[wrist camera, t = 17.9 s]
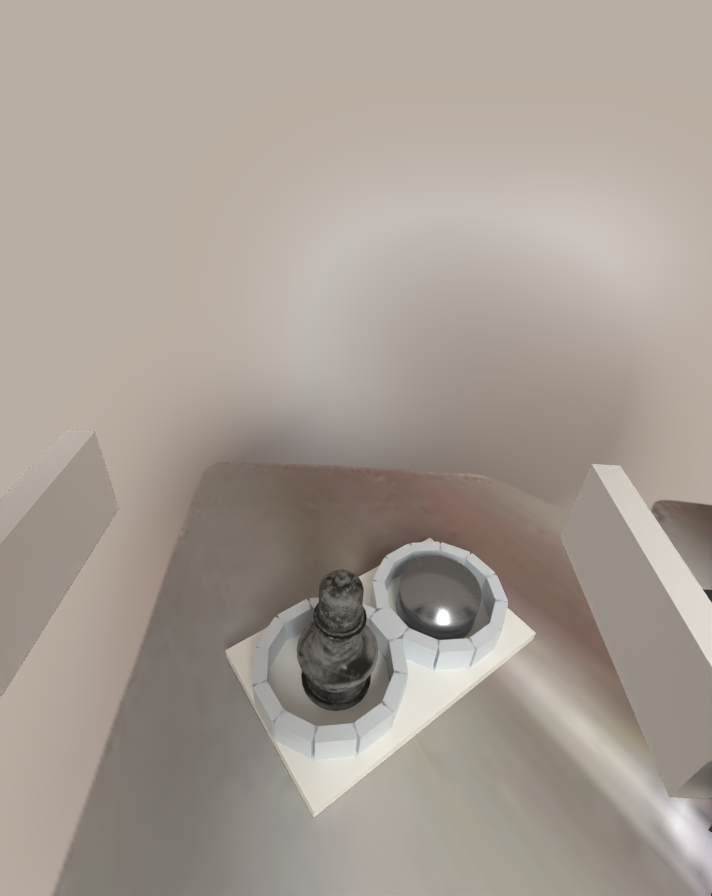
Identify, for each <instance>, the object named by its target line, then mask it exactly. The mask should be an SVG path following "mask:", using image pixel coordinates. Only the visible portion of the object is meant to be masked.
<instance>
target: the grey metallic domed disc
mask: <svg viewBox="0 0 712 896" xmlns="http://www.w3.org/2000/svg"><path fill="white" fill-rule="evenodd" d="M481 599H482V593H481V588H480V585H479V582H478V580H477V579H476V577H475V576H474V575H473V573H472V572H471V571H470V570H469V569H468V568H466V567H465V566H464V565H462V564H461V563H459V562H457V561H455V560H452V559H449V558H446V557H441V556H425V557H421V558H418V559H416V560H414V561H412V562H411V563H409V564H408V565H407V566H406V567H405V569H404V570H403V572H402V574H401V577H400V583H399V589H398V595H397V601H396V611H397V615H398V616H399V618H400V619H401V620H402V621H403V622H404V623H405V624H406V625H407V627H408V628H410V629H413V630H415V631H417V632H420V633H422V634H425V635H427V636H430V637H432V638H434V639H437V640H450V639H463V638H465V637H466V636H467V635H468V634H469V632H470V631H471V629H472V627H473V624H474V621H475V618H476V615H477V612H478V609H479V606H480V603H481Z"/></svg>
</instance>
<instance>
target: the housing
mask: <svg viewBox="0 0 712 896" xmlns="http://www.w3.org/2000/svg"><path fill="white" fill-rule="evenodd" d="M469 554H470V552H469V551H466V550H463V549H460V548H457V547H455V546H452V545H449V544H446V543H443V542H442V543H441V545H440V543H439V542H434V541H433V540H432V539H431V538H428V539H427V540H425V541H423V542H418V543H411V545H410V544H409V543H408V544H407V545H405V546H403V547H401V548H399V549H397V550H395V551H394V552H392V553H390V554H388V555H386V558H385V557H384V559H383V561H382V563H381V565H379V566H378V567H376V568H374V569H372V570H370V571H368V572H367V573H365V574H363V575H361V576H359V578H360V580H361V582H362V584H363V588H364V594H363V604H362V605H363V607H364V608H365V610H366V615H367V620H366V625H367V626H368V627H369V628H370V629H371V630H372V632H373V633H374V635H375V637H376V639H377V644H378V648H379V650H378V660H377V663H376V666H375V669H374V670H373V671H372V673H371V681H370V686H369V689H368V692H367V693H366V695H365V696H364V698H363V699H362V700H361V701H360V702H359V703H357V704H356V705H355V706H353V707H350V708H348V709H346V710H339V711H334V710H326V709H324V708H322V707H319V706H317V705H316V704H315V703H314V702H312V701H311V700H310V699H309V697H308V696H307V695H306V693H305V691H304V688H303V686H302V678H301V673H302V670H301V667H300V665H299V662H298V660H297V645H298V640H299V638H300V636H301V634H302V632H303V630H304V629H305V628H306V627H307V626H308V625H309V624H310V623H311V622H313V612H314V609H315V607H316V605H317V604H318V603H319V597H315V598H310V602H309V601H308V600H307V599H305V600H303V601H301V602H299V603H298V604H296V605H294V606H292V607H290V608H288V609H287V610H285V611H283V612H281V613H279V614H277V617H274V619H273V620H272V622H271V623H270V625H269V626H268V627H267V628H265V629H263V630H261V631H259V632H258V633H256V634H254V635H252V636H250V637H248V638H247V639H245V640H243V641H241V642H239V643H238V644H236V645H234V646H232V647H230V648H228V649H227V650H225V652H226V658H227V660H228V661H229V663H230V665H231V667H232V669H233V671H234V672H235V674H236V676H237V678H238V680H239V682H240V683H241V685H242V687H243V689H244V691H245V693H246V695H247V696H248V698H249V700H250V702H251V704H252V706H253V707H254V709H255V711H256V713H257V715H258V717H259V718H260V720H261V722H262V724H263V726H264V728H265V730H266V731H267V733H268V735H269V737H270V739H271V741H272V742H273V744H274V746H275V748H276V750H277V752H278V753H279V755H280V757H281V759H282V761H283V763H284V765H285V766H286V768H287V770H288V772H289V774H290V776H291V777H292V779H293V781H294V783H295V785H296V787H297V789H298V790H299V792H300V794H301V796H302V798H303V800H304V801H305V803H306V805H307V807H308V809H309V811H310V812H311V814H312V816H313V818H314V817H316V816H317V815H318V814H319V813H320V812H322V811H323V810H324V809H325V808H327V807H328V806H329V805H330V804H331V803H333V802H334V801H335V800H336V799H338V798H339V797H340V796H341V795H343V794H344V793H345V792H346V791H347V790H349V789H350V788H351V787H352V786H354V785H355V784H356V783H357V782H359V781H360V780H361V779H362V778H363V777H365V776H366V775H367V774H368V773H370V772H371V771H372V770H373V769H374V768H376V767H377V766H378V765H379V764H381V763H382V762H383V761H384V760H386V759H387V758H388V757H389V756H390V755H392V754H393V753H394V752H395V751H397V750H398V749H399V748H400V747H401V746H403V745H404V744H405V743H406V742H408V741H409V740H410V739H411V738H413V737H414V736H415V735H416V734H417V733H419V732H420V731H421V730H422V729H424V728H425V727H426V726H427V725H429V724H430V723H431V722H432V721H433V720H435V719H436V718H437V717H438V716H440V715H441V714H442V713H443V712H444V711H446V710H447V709H448V708H449V707H451V706H452V705H453V704H454V703H456V702H457V701H458V700H459V699H460V698H462V697H463V696H464V695H465V694H467V693H468V692H469V691H470V690H471V689H473V688H474V687H475V686H476V685H478V684H479V683H480V682H481V681H483V680H484V679H485V678H486V677H487V676H489V675H490V674H491V673H492V672H494V671H495V670H496V669H497V668H498V667H500V666H501V665H502V664H503V663H505V662H506V661H507V660H508V659H510V658H511V657H512V656H513V655H514V654H516V653H517V652H518V651H519V650H521V649H522V648H523V647H524V646H526V645H527V644H528V643H529V642H530V641H532V640H533V638H534V635H535V632H534V631H533V630H532V629H531V628H530V627H528V626H527V625H526V624H525V623H524V622H523V621H522V620H521V619H520V618H519V617H517V616H516V615H515V614H514V613H513V612H512V611H511V610H510V609H509V608H507V606H508V603H507V602H508V600H507V598H506V595H505V593H504V591H503V588H502V586H501V584H500V581H499V579H498V577H497V575H495V572H494V571H492V570H491V569H490V568H489V567H488V566H487V565H486V564H484V563H483V562H482V561H481V560H480V559H479V558H477V557H476V556H475V555H474V554H473V553H472V554H470V555H469ZM425 556H441V557H446V558H449V559H452V560H455V561H457V562H459V563H461V564H462V565H464V566H465V567H466V568H468V569H469V570H470V571H471V572H472V573H473V575H474V576H475V577H476V579H477V580H478V582H479V585H480V588H481V593H482V599H481V603H480V606H479V609H478V612H477V615H476V618H475V621H474V624H473V627H472V629H471V631H470V632H469V634H468V635H467V636H466V637H465V638H463V639H450V640H437V639H434V638H432V637H430V636H427V635H425V634H422V633H420V632H417V631H415V630H413V629H410V628H408V627H407V625H406V624H405V623H404V622H403V621H402V620H401V619H400V618H399V616H398V615H397V611H396V601H397V595H398V589H399V583H400V577H401V574H402V572H403V570H404V569H405V567H406V566H407V565H408V564H409V563H411V562H412V561H414V560H416V559H418V558H421V557H425Z"/></svg>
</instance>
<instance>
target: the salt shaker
mask: <svg viewBox="0 0 712 896" xmlns="http://www.w3.org/2000/svg"><path fill="white" fill-rule="evenodd" d="M363 594H364V588H363V584H362V582H361V580H360V578H359V577H358V576H357V575H355V574H354V573H352V572H350V571H347V570H336V571H333V572H330V573H329V574H327V575H326V576H325V577H324V578H323V579H322V581H321V583H320V587H319V603H318V604H317V605H316V607H315V609H314V612H313V622H311V623H310V624H309V625H308V626H307V627H306V628H305V629H304V630H303V632H302V634H301V636H300V638H299V640H298V645H297V660H298V662H299V665H300V667H301V670H302V673H301V678H302V686H303V688H304V691H305V693H306V695H307V696H308V697H309V699H310V700H311V701H312V702H314V703H315V704H316V705H317V706H319V707H322V708H324V709H326V710H334V711H339V710H346V709H348V708H350V707H353V706H355V705H356V704H357V703H359V702H360V701H361V700H362V699H363V698H364V696H365V695H366V693H367V692H368V689H369V686H370V681H371V673H372V671H373V670H374V669H375V666H376V663H377V660H378V650H379V648H378V644H377V639H376V637H375V635H374V633H373V632H372V630H371V629H370V628H369V627H368V626H367V625H366V620H367V615H366V610H365V608H364V607H363V605H362V604H363Z"/></svg>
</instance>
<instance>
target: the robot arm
mask: <svg viewBox="0 0 712 896" xmlns="http://www.w3.org/2000/svg"><path fill="white" fill-rule="evenodd" d="M118 509H119V507H118V504H117V501H116V498H115V495H114V491H113V488H112V485H111V482H110V478H109V475H108V472H107V469H106V465H105V462H104V459H103V456H102V452H101V449H100V446H99V443H98V440H97V437H96V433H95V431H81V430H65V431H64V432H63V433H62V434H61V435H60V436H59V437H58V438H57V440H56V441H55V442H54V443H53V444H52V445H51V446H50V447H49V448H48V449H47V450H46V451H45V452H44V453H43V454H42V456H41V457H40V458H39V459H38V460H37V461H36V462H35V463H34V464H33V465H32V466H31V467H30V468H29V470H28V471H27V472H26V473H25V474H24V475H23V476H22V477H21V478H20V479H19V480H18V481H17V482H16V483H15V484H14V486H13V487H12V488H11V489H10V490H9V491H8V492H7V493H6V494H5V495H4V496H3V497H2V498H1V499H0V698H1V696H2V695H3V694H4V692H5V690H6V688H7V687H8V686H9V684H10V682H11V681H12V679H13V678H14V676H15V674H16V673H17V671H18V669H19V668H20V666H21V664H22V663H23V661H24V660H25V658H26V657H27V655H28V653H29V652H30V650H31V649H32V647H33V645H34V644H35V642H36V641H37V639H38V637H39V636H40V634H41V633H42V631H43V629H44V628H45V626H46V625H47V623H48V621H49V620H50V618H51V617H52V615H53V613H54V611H55V610H56V608H57V607H58V605H59V604H60V602H61V601H62V599H63V597H64V596H65V594H66V593H67V591H68V589H69V588H70V586H71V585H72V583H73V581H74V580H75V578H76V577H77V575H78V573H79V572H80V570H81V568H82V567H83V565H84V564H85V562H86V560H87V559H88V557H89V556H90V554H91V553H92V551H93V549H94V548H95V546H96V544H97V543H98V541H99V540H100V538H101V537H102V535H103V533H104V532H105V530H106V528H107V527H108V525H109V524H110V522H111V520H112V518H113V517H114V516H115V514H116V512H117V511H118ZM560 538H561V540H562V543H563V545H564V547H565V550H566V552H567V555H568V557H569V559H570V562H571V564H572V566H573V569H574V571H575V574H576V576H577V578H578V581H579V583H580V585H581V588H582V590H583V593H584V595H585V597H586V600H587V602H588V604H589V607H590V609H591V612H592V614H593V616H594V619H595V621H596V623H597V626H598V628H599V631H600V633H601V635H602V638H603V640H604V642H605V645H606V647H607V650H608V652H609V654H610V657H611V659H612V661H613V664H614V666H615V669H616V671H617V673H618V676H619V678H620V680H621V683H622V685H623V688H624V690H625V692H626V695H627V697H628V699H629V702H630V704H631V707H632V709H633V711H634V714H635V716H636V719H637V721H638V723H639V726H640V728H641V730H642V733H643V735H644V738H645V740H646V742H647V745H648V747H649V749H650V752H651V754H652V757H653V759H654V761H655V764H656V766H657V768H658V771H659V773H660V776H661V778H662V780H663V783H664V785H665V787H666V790H667V792H668V795H669V797H683V798H699V799H711V798H712V590H704V589H702V588H701V586H700V585H699V583H698V582H697V580H696V579H695V577H694V576H693V574H692V573H691V571H690V570H689V568H688V567H687V565H686V564H685V562H684V561H683V559H682V558H681V556H680V555H679V553H678V552H677V550H676V549H675V547H674V545H673V544H672V542H671V541H670V539H669V538H668V536H667V535H666V533H665V532H664V530H663V529H662V527H661V526H660V524H659V523H658V521H657V520H656V518H655V517H654V515H653V514H652V512H651V511H650V509H649V508H648V506H647V505H646V504H645V502H644V501H643V499H642V497H641V496H640V494H639V493H638V491H637V490H636V488H635V487H634V485H633V484H632V482H631V481H630V480H629V478H628V476H627V475H626V474H625V472H624V470H623V469H622V468H621V466H616V465H601V464H592V465H591V467H590V469H589V472H588V474H587V476H586V478H585V481H584V483H583V485H582V488H581V490H580V492H579V494H578V497H577V499H576V501H575V504H574V506H573V508H572V511H571V513H570V515H569V518H568V520H567V522H566V525H565V527H564V529H563V532H562V534H561V536H560ZM709 831H711V832H712V825H711V826H710V828H709ZM711 896H712V894H711Z"/></svg>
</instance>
